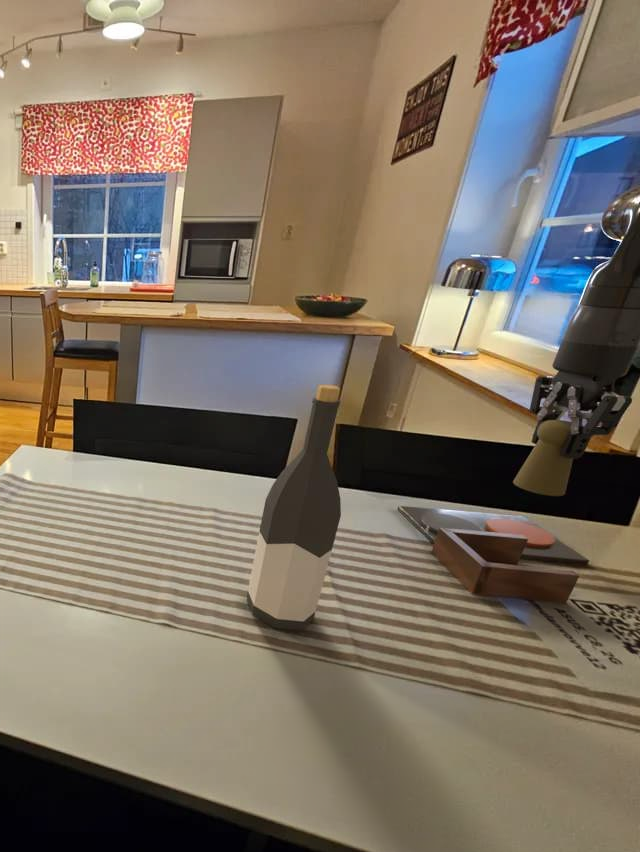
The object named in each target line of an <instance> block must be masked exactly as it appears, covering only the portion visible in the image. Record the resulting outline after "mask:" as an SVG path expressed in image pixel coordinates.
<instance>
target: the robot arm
mask: <svg viewBox="0 0 640 852" xmlns="http://www.w3.org/2000/svg"><path fill="white" fill-rule="evenodd" d="M600 227H601V230H602V232H603V233H604V234H605V235H606V236H607V237H608V238H610V239H612V240H616V241H619V242H620V243H619V245H618V246H617V248H616V250H615V251H614V253H613V255H612V256H611V258H610V259H609V260H608V261H606V262H603V263H601V264H599V265H598V266H596V267H595V268H594V269H593V271H592V272H591V274H590V276H589V278H588V279H587V282H586V284H585V286H584V289H583V292H582V295H581V297H580V299H579V302H578V305H577V307H576V309H575V310H574V312H573V314H572V316H571V317H570V320H569V322H568V324H567V326H566V329H565V332H564V334H563V337H562V340H561V342H560V344H559V347H558V350H557V352H556V355H555V358H554V360H553V363H552V369H554V370H556V371H557V372H556V374H554V376H550V375H538V376H537V377H536V378H535V383H534V386H533V387H534V388H533V392H532V396H531V401H530V406H529V413H530V414H534V415H536V416H535V417H536V418H535V419H536V420H537V424H536V426H535V429H534V430H533V434H532V438H531V443H532V444H534V445H536V444H537V442H538V440H539V438H538V436H537V430H538V428H539V426H540V425H541V424H542V423H543V422H545V421H548V420H562V417H563V416H564V415H565V414H566V413H567V417H568V418H569V419H570V422H571V433H569V434H568V436H567V439H566V441H565V443H564V446H563V448H562V451H561V453H560V455H561V456H562V457H565V458H572V459H573V460H578V459H580V458H581V457H583V456H584V454H585V452H586V449H587V447H588V445H589V443H590V441H591V438H592V437H594V436H608V435H610V434H611V432H612V431H613V430H614V428H615V426H616V425H617V424H618V422H619V421H620V420H621V418H622V417H623V415H624V414H625V413H626V411H627V410H628V408H629V407H630V406H631V404H632V402H633V398H632V397H631V396H626V395H625V396H624V395H619V394H618V393H616V392H615V382H616V380H617V379H619V378H622V377H624V376H626V375H627V374H628V372H629V369H630V367H631V366H632V363H633V361H634V359H635V357H636V354H637V352H638V350H639V347H640V183H638V184H636V185H634V186H632V187H631V188H628V190H625V191H624V192H623V193H622V194H620V195H619V196H617V197H616V198H615V199H614V200H613V201H612V202H611V203H610V204H609V205H608V206H607V208H606V209H605V210H604V212H603V214H602V216H601V219H600ZM543 399H544V400H543ZM542 400H543V401H542ZM541 402H542V403H541ZM589 411H590V412H589ZM583 420H586V423H585V425H583ZM600 423H602V424H601V425H600Z"/></svg>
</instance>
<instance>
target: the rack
mask: <svg viewBox="0 0 640 852" xmlns="http://www.w3.org/2000/svg"><path fill="white" fill-rule="evenodd" d="M527 541H528V539H527V538H526V537H525V536H523V535H516V534H505V533H494V532H483V531H471V530H460V529H449V528H439V531H438V534H437V536H436V539H435V542H434V544H432V548H431V550H430V553H431V554H432V555H433V556H434V557H435V558H436V559H437V560H438V561H439V562H440V563H441V564H442V565H443V566H444V567H445V568H446V569H447V570H448V572H449V573H451V574H452V575H453V576H454V577H455V578H456V579H457V580H458V581H459V583H461V584H462V585H463V586H464V587H465V588H466V589H467V590H468V591H469V592H470V593H471V594H473V595H482V596H491V597H501V598H509V599H510V598H511V599H520V600H529V601H539V602H548V603H556V604H557V603H558V604H564V605H565V604H567V603H568V600H569V599H570V596H571V595H572V592H573V590H574V588H575V586H576V584H577V582H578V580H579V578H580V575H579V574H578V573H576V572H575V571H573V570H570V569H561V568H560V569H559V568H550V567H549V568H548V567H540V566H539V567H538V566H529V565H519V562H520V560H521V558H520V557H521V555H522V553H523V550H524V548H525V546H526V543H527Z"/></svg>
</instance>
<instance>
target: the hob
mask: <svg viewBox="0 0 640 852" xmlns="http://www.w3.org/2000/svg"><path fill="white" fill-rule="evenodd" d="M397 511H398V512H399V513H400V514H401V515H402V516H403V517H404V518H406V519H407V520H408V521H409V522H410V523H411V525H413V526H414V527H415V529H416V530H418V532H420V533H421V534H422V535H423V536H424V537H425V538H426V539H427V540H428V541H429V542H430V543H432V545H434V542H435V539H436V536H437V534H438V531H439V528H449V529H460V530H471V531H483V532H494V533H505V534H516V535H523V536H525V537H526V538H527V539H528V541H527V543H526V546H525V548H524V550H523V553H522V555H521V557H520V559H522V560H523V559H524V560H532V561H533V560H534V561H545V562H554V563H565V564H576V565H585V566H588V564H589V562H590V560H589V559H588V558H586V557H585V556H584V555H582V554H580V553H579V552H577V551H576V550H575V549H573V548H571V547H570V546H569V545H566V543H564V542H562V541H561V540H560V539H558V538H556V537H555V536H553V535H552V534H551V533H549V532H548V531H546V530H545V529H544V528H541V527H540V526H539V525H537V524H535V523H534V522H533V521H531V520H529V519H528V518H526V516H523V515H516V514H515V515H514V514H502V513H501V514H500V513H491V512H489V513H488V512H477V511H468V510H467V511H465V510H453V509H444V508H443V509H442V508H428V507H418V506H407V505H406V506H405V505H398V506H397Z"/></svg>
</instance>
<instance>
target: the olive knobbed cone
mask: <svg viewBox="0 0 640 852" xmlns="http://www.w3.org/2000/svg"><path fill="white" fill-rule="evenodd" d="M569 433H571V421H568V420H563V419H560V420H548V421H545V422H543V423H542V424H541V425H540V426H539V428H538V430H537V436H538V438H539V440H538V442H537V444H534V447H533V448H532V450H531V452H530V454H529V455H528V456H527V458H526V460H525V461H524V463H523V465H522V466H521V468H520V469H519V471H518V472H517V474H516V476H515V477H514V479H513V481H512V483H513V484H514V486H516V487H518V488H520V489H522V490H524V491H527V492H530V493H534V494H538V495H543V496H550V497H561V496H564V495H566V491H567V487H568V483H569V478H570V474H571V470H572V465H573V463H574V462H573V461H574V459H572V458H565V457H562V456H561V455H560V453H561V451H562V448H563V446H564V443H565V441H566V439H567V436H568V434H569Z"/></svg>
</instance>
